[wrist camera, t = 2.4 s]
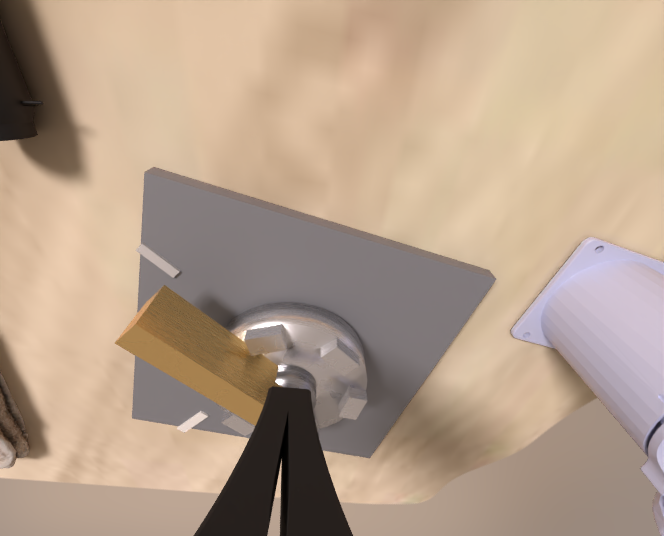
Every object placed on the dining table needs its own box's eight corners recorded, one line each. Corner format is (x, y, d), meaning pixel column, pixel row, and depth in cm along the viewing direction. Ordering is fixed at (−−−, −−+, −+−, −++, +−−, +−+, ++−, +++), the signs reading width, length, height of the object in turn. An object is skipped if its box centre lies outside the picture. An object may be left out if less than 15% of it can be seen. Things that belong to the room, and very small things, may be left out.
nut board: (488, 270, 20) (497, 280, 19) (366, 449, 30) (368, 462, 29) (149, 165, 17) (138, 171, 16) (135, 410, 26) (128, 423, 25)
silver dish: (392, 363, 23) (409, 432, 18) (290, 424, 26) (283, 494, 21) (228, 217, 17) (196, 267, 12) (122, 319, 20) (67, 387, 16)
